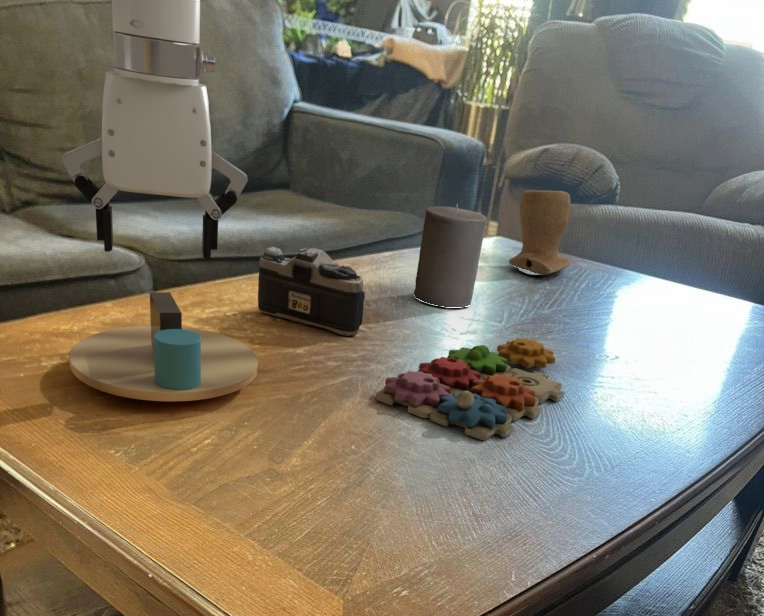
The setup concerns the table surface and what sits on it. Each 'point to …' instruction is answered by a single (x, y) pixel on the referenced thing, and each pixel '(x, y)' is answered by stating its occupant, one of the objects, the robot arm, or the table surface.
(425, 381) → the gear puzzle
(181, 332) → the teal cylinder block
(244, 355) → the tray
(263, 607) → the table surface
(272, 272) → the camera
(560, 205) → the brown flared block
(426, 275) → the pillar candle
